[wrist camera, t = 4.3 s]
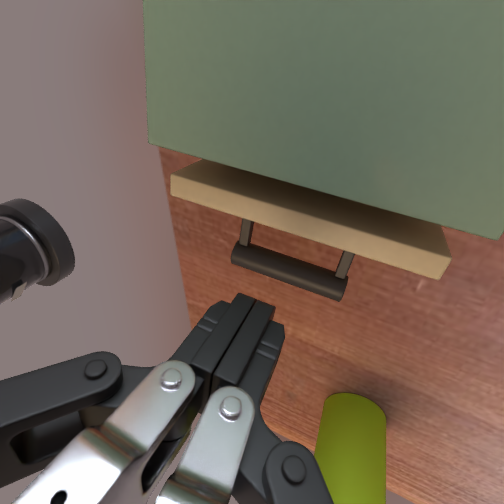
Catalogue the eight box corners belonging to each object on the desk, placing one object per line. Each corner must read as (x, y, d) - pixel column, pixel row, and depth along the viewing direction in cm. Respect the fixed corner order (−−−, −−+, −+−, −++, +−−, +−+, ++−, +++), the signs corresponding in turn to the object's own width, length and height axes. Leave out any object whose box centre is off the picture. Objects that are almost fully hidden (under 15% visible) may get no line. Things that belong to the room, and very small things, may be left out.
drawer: (393, 278, 21) (395, 350, 16) (219, 221, 24) (169, 265, 19) (639, -195, 10) (940, -516, 5) (261, -191, 13) (170, -380, 8)
